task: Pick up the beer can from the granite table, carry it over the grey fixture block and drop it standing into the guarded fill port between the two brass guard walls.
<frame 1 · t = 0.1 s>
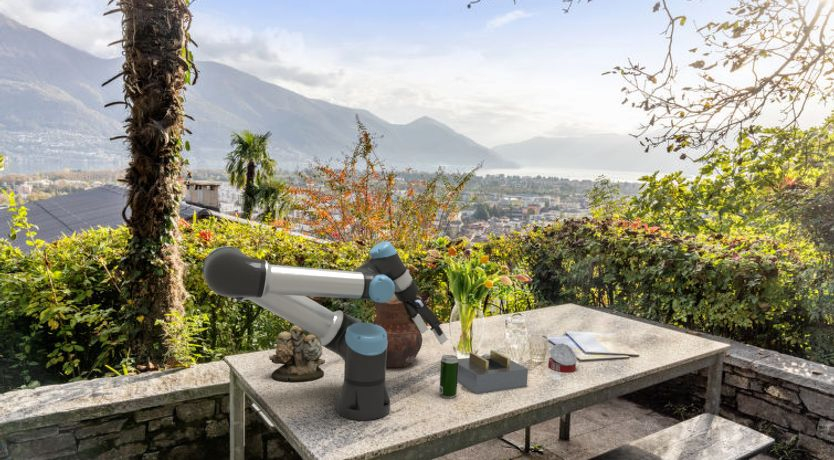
hand: (434, 336, 164), 15 cm above the table, tool tilted 35°, fingers open, 13 cm apart
jug: (392, 362, 183), on the table
beer can: (447, 396, 153), on the table
owl figurine: (296, 376, 164), on the table
canned food: (561, 369, 185), on the table
grey fixture block: (488, 381, 167), on the table
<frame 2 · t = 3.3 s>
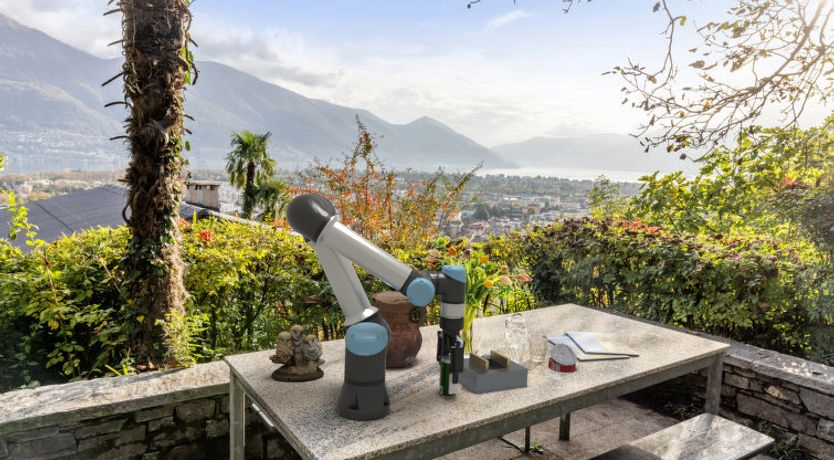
hand: (448, 389, 153), 2 cm above the table, tool pointing down, fingers closed on beer can, 5 cm apart
beer can: (447, 396, 153), on the table, touching gripper
everything else where it was.
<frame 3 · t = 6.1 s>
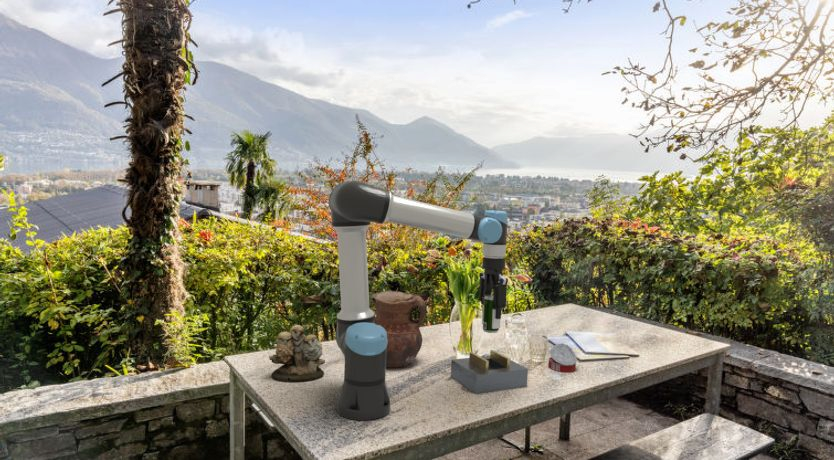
hand: (490, 325, 166), 19 cm above the table, tool pointing down, fingers closed on beer can, 5 cm apart
beer can: (490, 331, 166), point 17 cm above the table, touching gripper
everything else where it was.
when the fingers open (7 cm above the table, at t = 9.4 s): beer can drops 2 cm, resting on grey fixture block.
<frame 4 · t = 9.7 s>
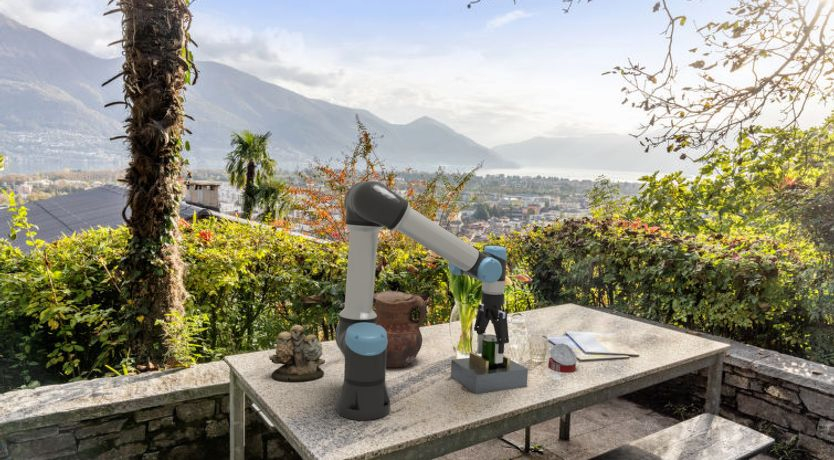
hand: (489, 357, 167), 8 cm above the table, tool pointing down, fingers open, 10 cm apart
beer can: (488, 371, 167), point 3 cm above the table, touching grey fixture block
everything else where it was.
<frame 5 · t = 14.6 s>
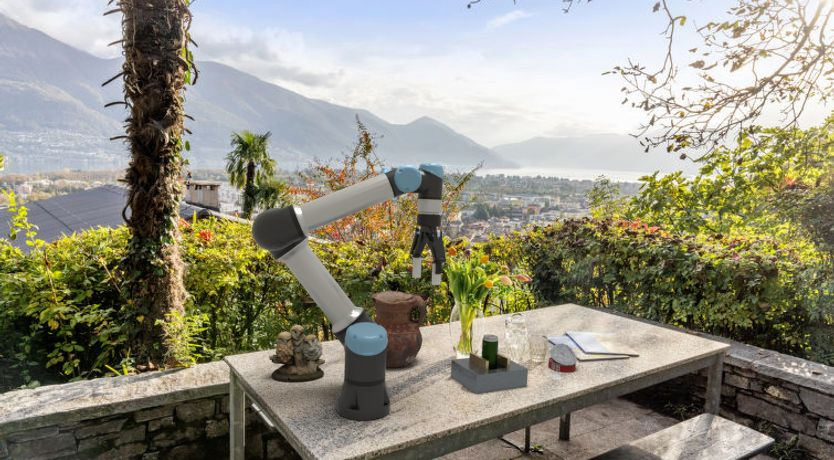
hand: (425, 281, 155), 35 cm above the table, tool pointing down, fingers open, 13 cm apart
nothing on the table moved.
at the end: beer can 0.0 cm off-centre on the grey fixture block, point 3.3 cm above the grey fixture block's base; beer can tilted 0°; the gripper is holding nothing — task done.
